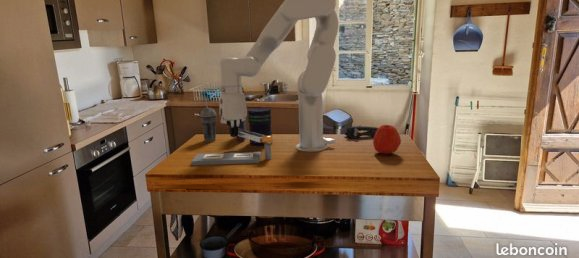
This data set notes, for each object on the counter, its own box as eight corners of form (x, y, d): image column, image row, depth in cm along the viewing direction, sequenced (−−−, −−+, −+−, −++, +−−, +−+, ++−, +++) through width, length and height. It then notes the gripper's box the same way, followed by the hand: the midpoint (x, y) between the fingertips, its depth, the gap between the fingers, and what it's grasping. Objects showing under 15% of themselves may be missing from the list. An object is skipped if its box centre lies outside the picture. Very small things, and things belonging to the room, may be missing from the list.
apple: (406, 152, 147) (406, 125, 145) (382, 156, 143) (383, 128, 141) (389, 147, 156) (390, 121, 154) (367, 150, 152) (367, 123, 150)
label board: (271, 155, 149) (271, 139, 148) (271, 162, 139) (270, 146, 138) (197, 157, 149) (196, 142, 148) (191, 165, 139) (190, 149, 138)
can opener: (347, 140, 171) (347, 127, 170) (343, 136, 177) (343, 124, 176) (386, 138, 172) (387, 125, 171) (381, 134, 179) (381, 122, 178)
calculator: (239, 136, 183) (237, 105, 180) (248, 136, 183) (246, 104, 180) (236, 142, 172) (234, 108, 169) (245, 142, 172) (244, 108, 169)
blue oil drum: (271, 146, 163) (270, 110, 160) (248, 147, 163) (246, 111, 160) (273, 141, 173) (271, 107, 170) (250, 141, 173) (249, 108, 170)
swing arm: (274, 142, 143) (274, 136, 142) (265, 144, 140) (265, 138, 140) (239, 132, 163) (238, 126, 163) (230, 133, 161) (230, 128, 160)
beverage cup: (220, 140, 178) (217, 96, 174) (215, 143, 171) (212, 98, 167) (204, 140, 178) (201, 96, 174) (199, 143, 171) (196, 98, 167)
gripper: (219, 92, 144) (222, 141, 147) (253, 89, 153) (255, 135, 157) (209, 91, 150) (212, 138, 153) (242, 88, 159) (245, 132, 162)
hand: (234, 136), depth 155 cm, fingers closed
